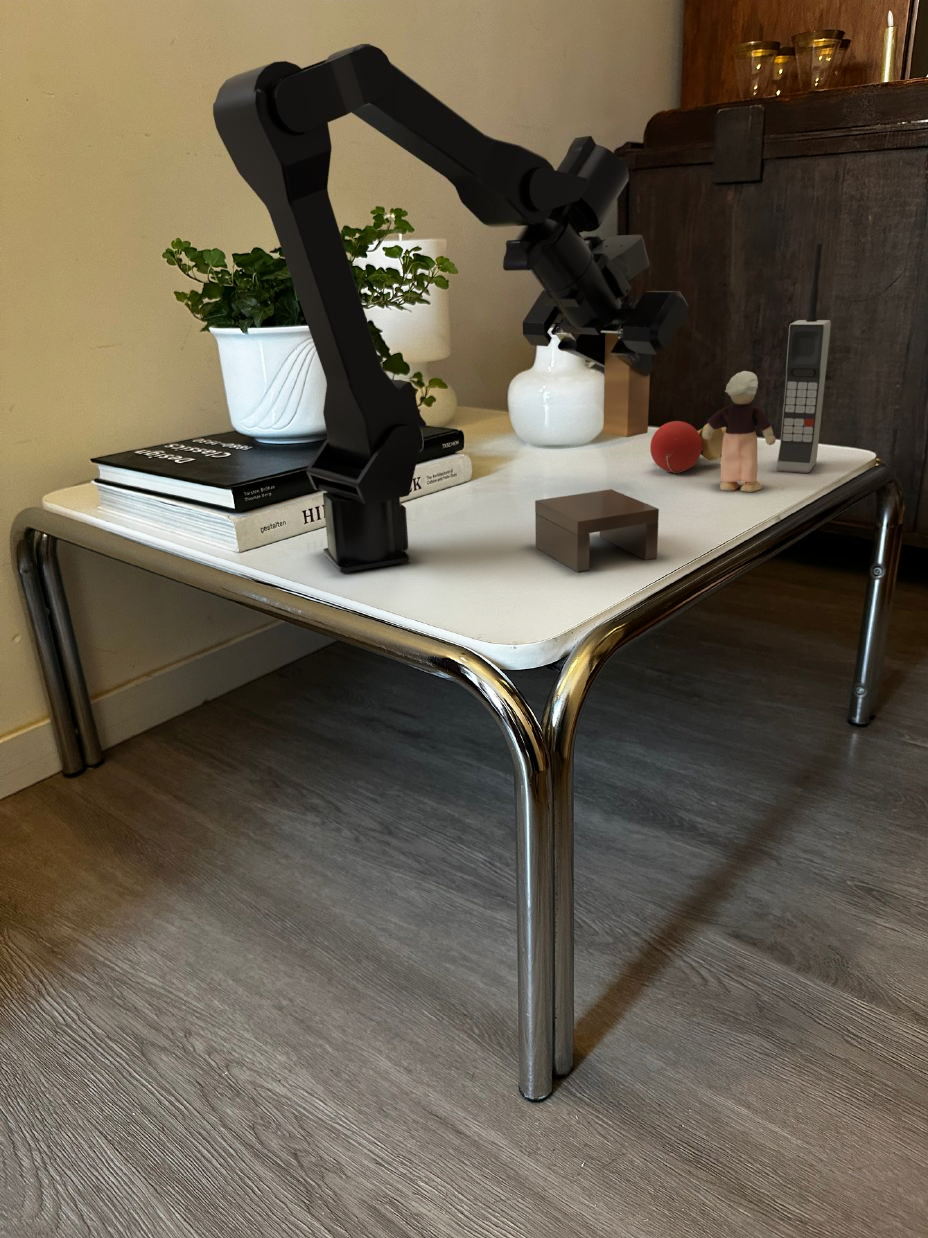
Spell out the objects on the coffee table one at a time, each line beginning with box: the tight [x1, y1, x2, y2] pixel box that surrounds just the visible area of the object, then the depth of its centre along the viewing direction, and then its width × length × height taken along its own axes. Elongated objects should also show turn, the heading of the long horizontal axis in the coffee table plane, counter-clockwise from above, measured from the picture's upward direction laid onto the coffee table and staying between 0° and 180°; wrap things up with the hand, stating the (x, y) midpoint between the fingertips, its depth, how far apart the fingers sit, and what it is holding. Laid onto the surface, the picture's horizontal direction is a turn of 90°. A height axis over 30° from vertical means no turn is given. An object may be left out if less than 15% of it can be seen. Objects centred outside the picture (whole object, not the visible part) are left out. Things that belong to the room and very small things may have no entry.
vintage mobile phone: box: [776, 242, 832, 474], centre depth 106 cm, size 4×5×25 cm
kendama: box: [649, 420, 726, 474], centre depth 115 cm, size 8×6×18 cm
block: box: [602, 333, 651, 438], centre depth 101 cm, size 4×4×12 cm
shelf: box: [534, 488, 660, 573], centre depth 83 cm, size 8×8×4 cm
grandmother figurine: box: [702, 370, 777, 493], centre depth 101 cm, size 8×4×13 cm, turn 74°
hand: (635, 371), depth 102 cm, fingers closed on block, 3 cm apart
